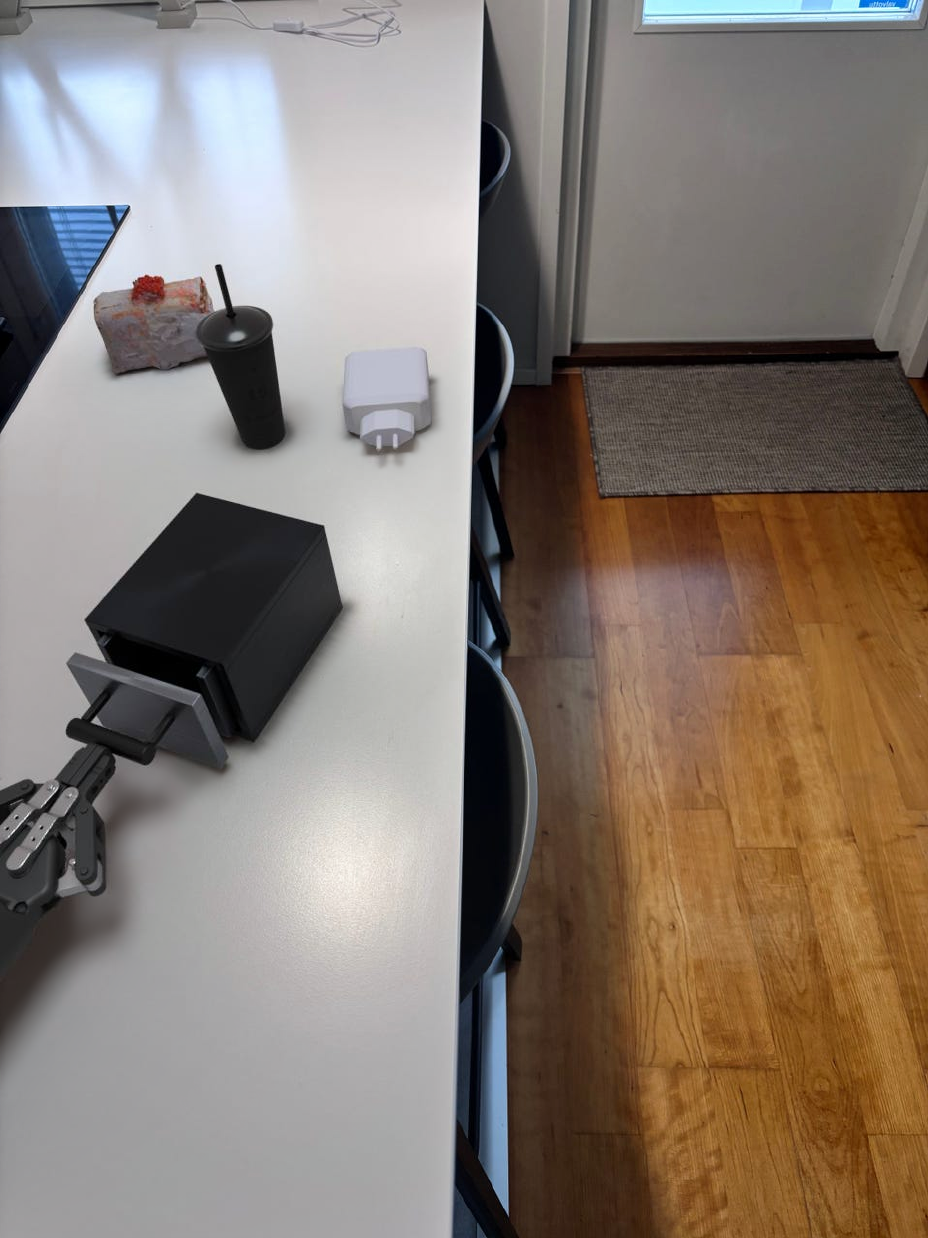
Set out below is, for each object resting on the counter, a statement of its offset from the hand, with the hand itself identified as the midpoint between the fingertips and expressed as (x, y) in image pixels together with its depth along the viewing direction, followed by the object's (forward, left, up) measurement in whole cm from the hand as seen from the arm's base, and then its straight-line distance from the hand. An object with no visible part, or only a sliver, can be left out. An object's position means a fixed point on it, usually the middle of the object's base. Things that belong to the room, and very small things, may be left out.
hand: (104, 750), depth 70 cm
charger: (+18, +47, -7) cm, 50 cm away
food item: (-10, +63, -7) cm, 64 cm away
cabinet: (+6, +15, -7) cm, 17 cm away
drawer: (+4, +9, -6) cm, 11 cm away
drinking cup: (+4, +46, -7) cm, 46 cm away
